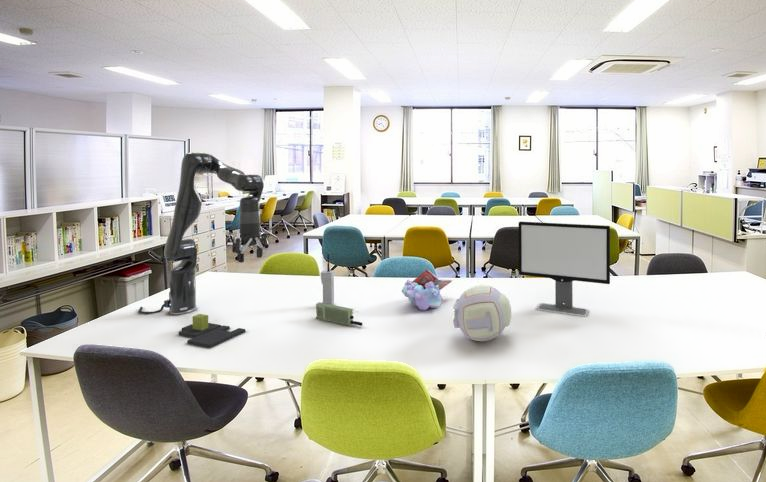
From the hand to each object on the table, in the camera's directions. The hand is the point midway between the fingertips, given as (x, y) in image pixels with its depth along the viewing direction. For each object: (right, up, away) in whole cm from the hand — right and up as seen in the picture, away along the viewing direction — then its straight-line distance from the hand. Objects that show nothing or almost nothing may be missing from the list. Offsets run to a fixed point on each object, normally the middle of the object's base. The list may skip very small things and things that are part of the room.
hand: (250, 259), depth 155 cm
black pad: (-17, -28, -6) cm, 33 cm away
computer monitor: (+136, -26, +14) cm, 139 cm away
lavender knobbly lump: (+71, -27, +22) cm, 79 cm away
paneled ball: (+98, -27, -14) cm, 103 cm away
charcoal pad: (-5, -28, -12) cm, 31 cm away
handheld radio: (+37, -27, +1) cm, 46 cm away
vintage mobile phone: (+24, -27, +20) cm, 42 cm away
